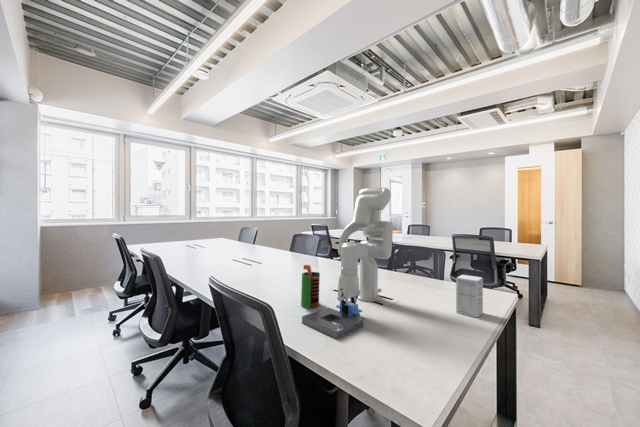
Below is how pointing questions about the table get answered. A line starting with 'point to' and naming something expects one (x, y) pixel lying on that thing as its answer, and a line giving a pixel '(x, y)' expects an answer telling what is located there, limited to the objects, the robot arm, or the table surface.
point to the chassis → (334, 330)
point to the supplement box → (469, 295)
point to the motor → (310, 288)
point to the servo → (351, 309)
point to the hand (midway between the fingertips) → (348, 311)
